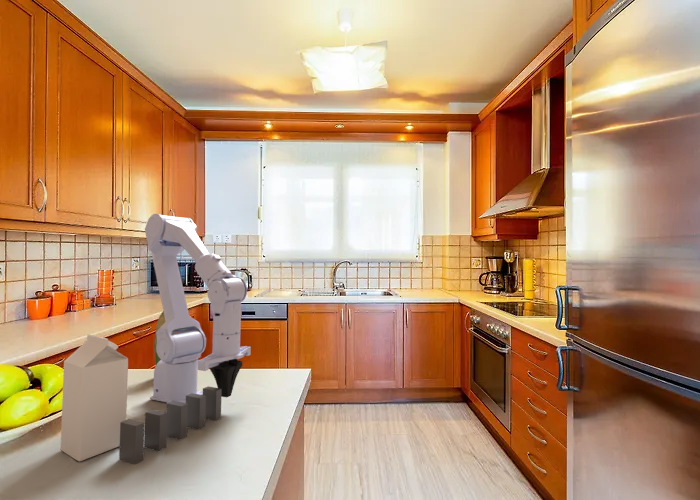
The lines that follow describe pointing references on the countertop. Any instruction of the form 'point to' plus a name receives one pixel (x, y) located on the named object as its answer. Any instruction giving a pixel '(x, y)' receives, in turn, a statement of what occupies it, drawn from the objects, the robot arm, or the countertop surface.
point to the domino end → (131, 441)
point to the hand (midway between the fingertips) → (225, 395)
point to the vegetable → (159, 324)
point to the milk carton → (93, 398)
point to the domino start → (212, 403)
